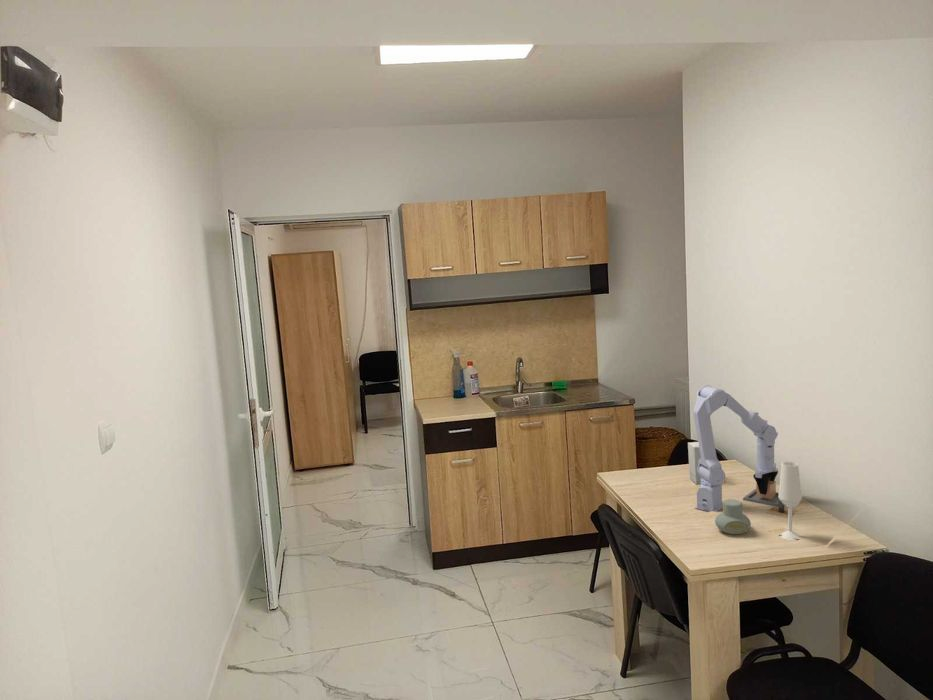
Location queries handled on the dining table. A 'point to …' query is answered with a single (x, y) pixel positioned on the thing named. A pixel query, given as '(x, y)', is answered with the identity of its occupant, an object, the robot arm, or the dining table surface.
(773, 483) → the brown cube box
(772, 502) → the tray
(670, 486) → the dining table surface
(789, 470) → the champagne flute
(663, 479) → the dining table surface
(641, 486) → the dining table surface
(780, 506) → the stand
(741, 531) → the air freshener
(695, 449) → the skincare box
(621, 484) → the dining table surface
